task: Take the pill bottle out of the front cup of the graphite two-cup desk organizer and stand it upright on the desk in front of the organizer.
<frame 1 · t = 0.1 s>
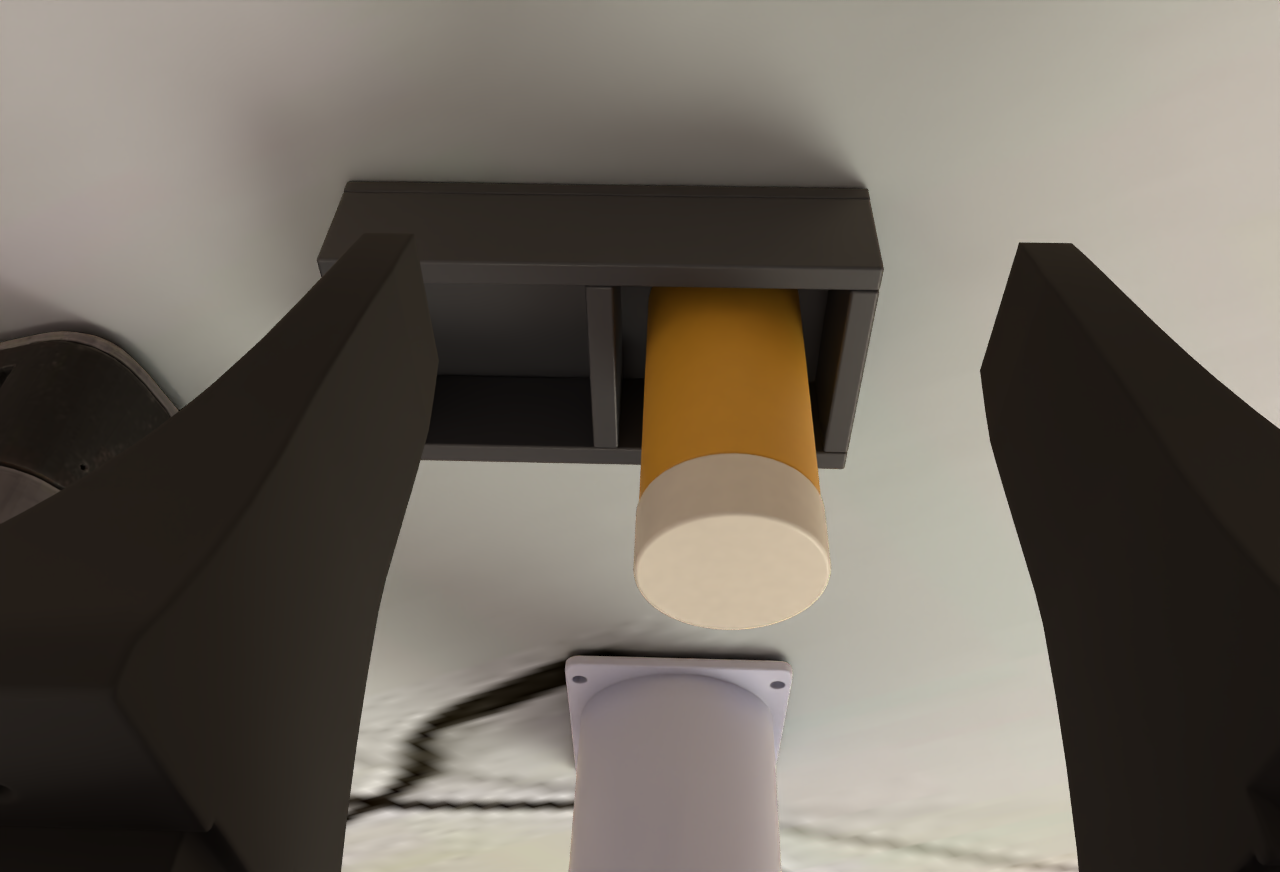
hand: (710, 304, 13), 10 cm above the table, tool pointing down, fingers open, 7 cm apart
electronic device: (122, 446, 31), on the table
pill bottle: (723, 304, 25), resting on organizer
organizer: (609, 292, 26), on the table
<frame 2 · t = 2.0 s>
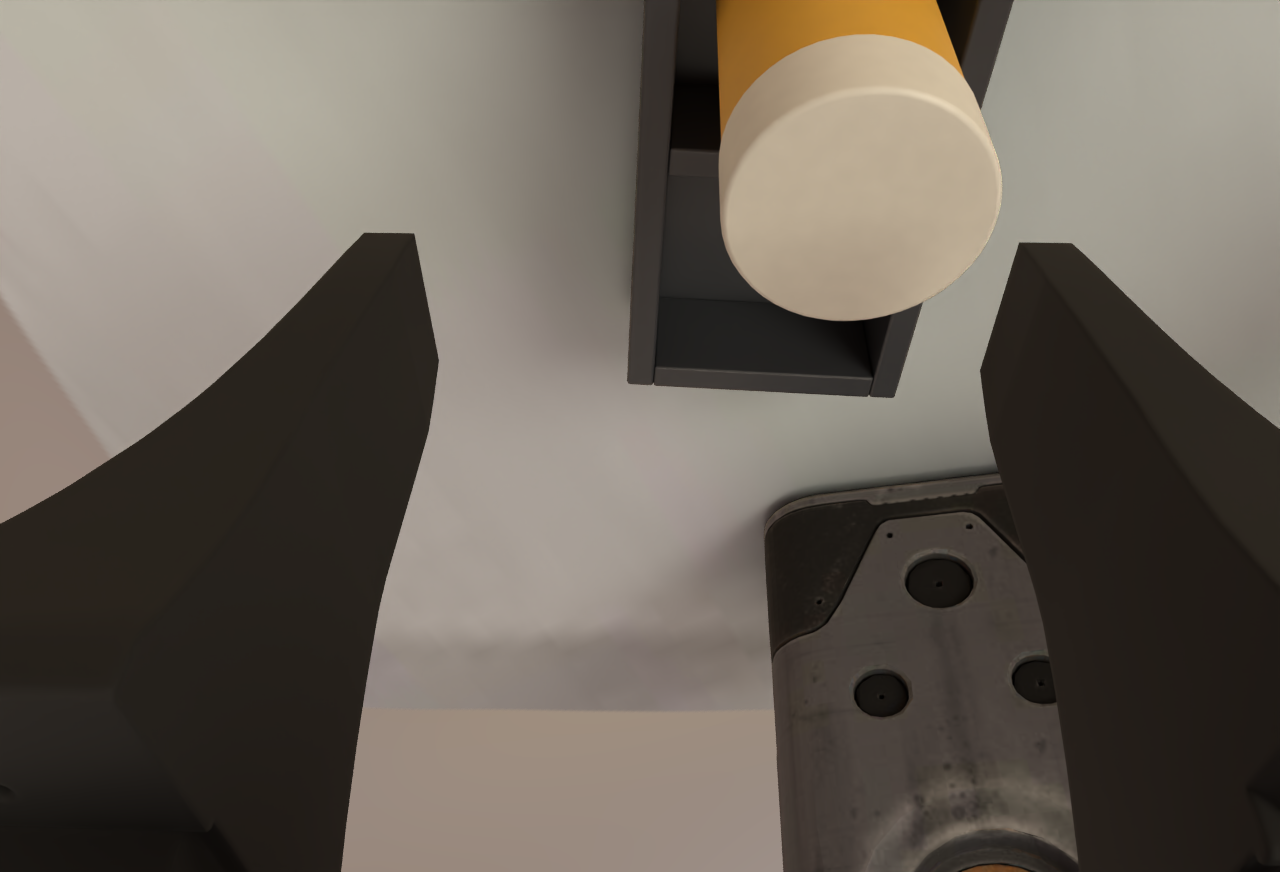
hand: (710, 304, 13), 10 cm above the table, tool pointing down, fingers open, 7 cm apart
electronic device: (920, 532, 32), on the table
organizer: (789, 92, 22), on the table
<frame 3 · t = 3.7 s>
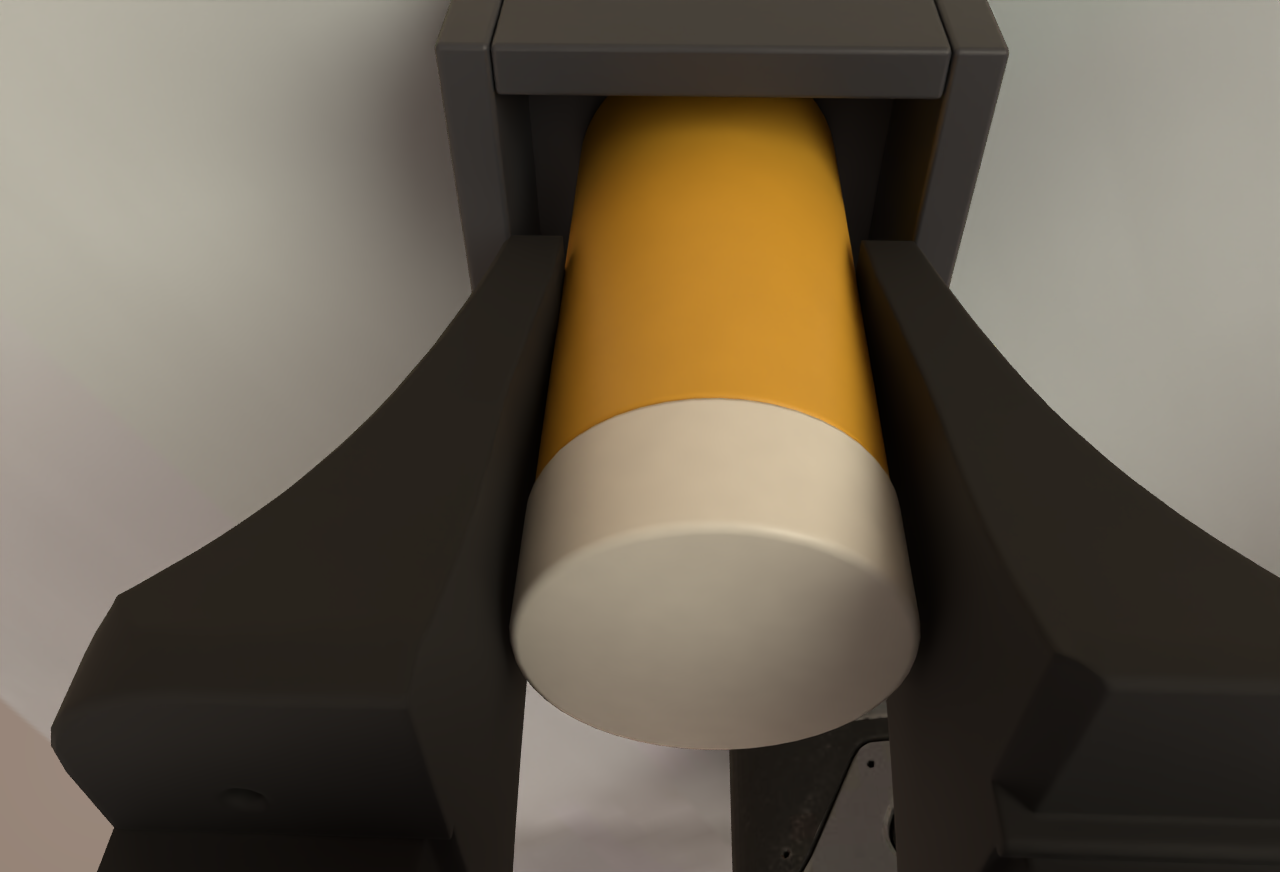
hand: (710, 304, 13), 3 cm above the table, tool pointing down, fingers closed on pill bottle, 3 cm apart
electronic device: (914, 730, 28), on the table
pill bottle: (706, 169, 15), resting on organizer, touching gripper
organizer: (699, 302, 17), on the table
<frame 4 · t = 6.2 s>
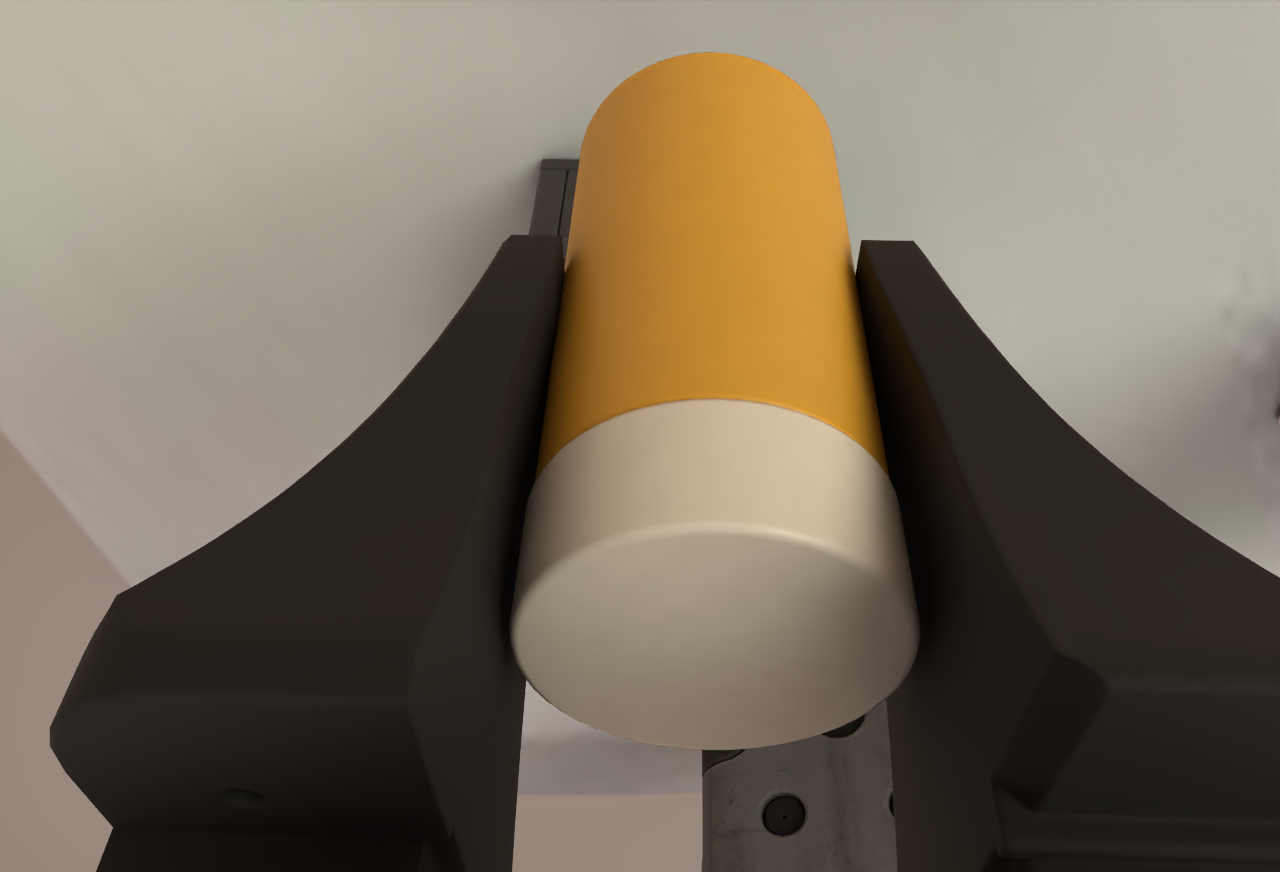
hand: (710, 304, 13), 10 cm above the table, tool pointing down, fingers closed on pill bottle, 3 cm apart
electronic device: (837, 654, 38), on the table
pill bottle: (706, 170, 15), point 7 cm above the table, touching gripper
organizer: (674, 356, 28), on the table
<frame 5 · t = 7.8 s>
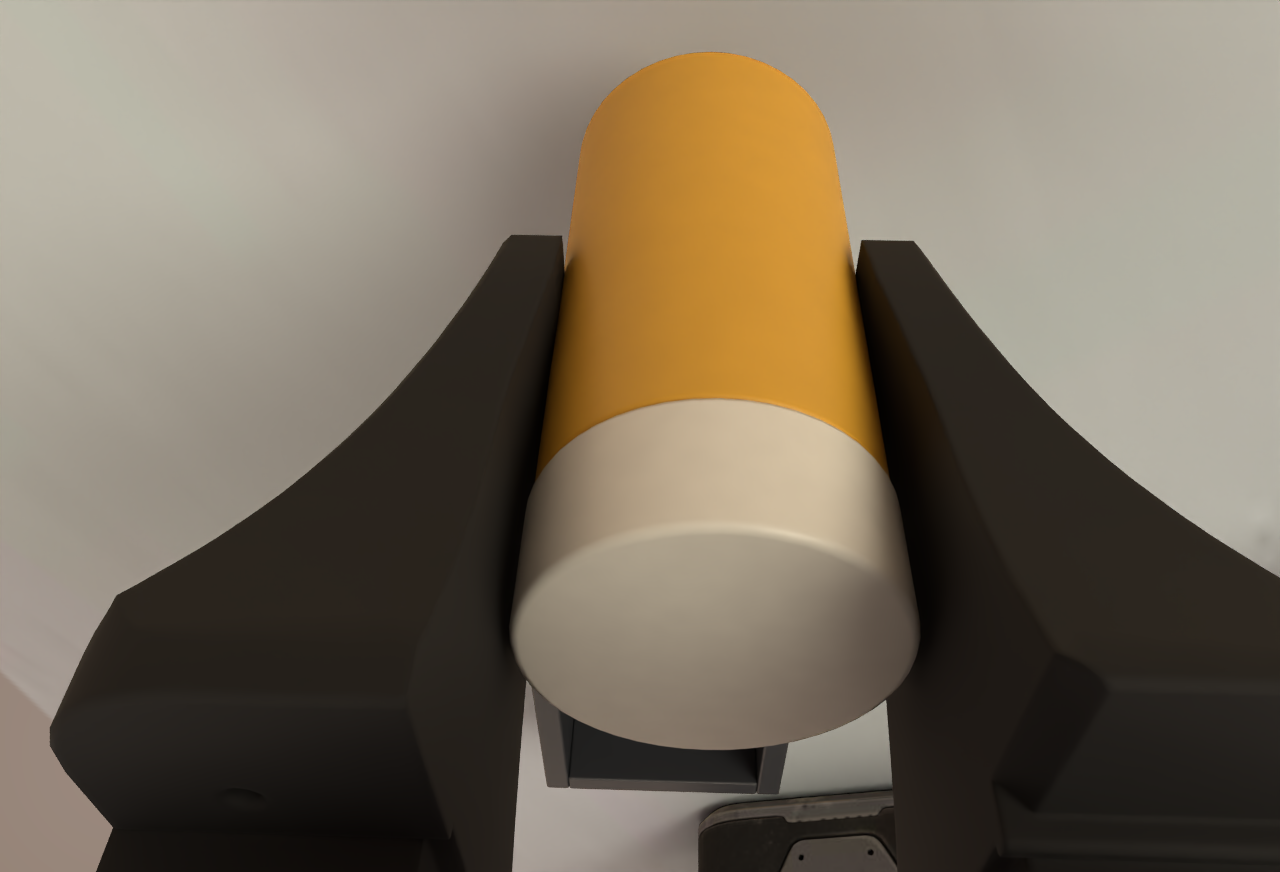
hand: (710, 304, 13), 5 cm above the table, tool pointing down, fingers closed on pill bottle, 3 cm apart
electronic device: (841, 823, 36), on the table
pill bottle: (706, 169, 15), point 2 cm above the table, touching gripper
organizer: (667, 570, 26), on the table
when the fingers open (3 cm above the table, at t = 8.9 s): pill bottle stays where it is, on the table.
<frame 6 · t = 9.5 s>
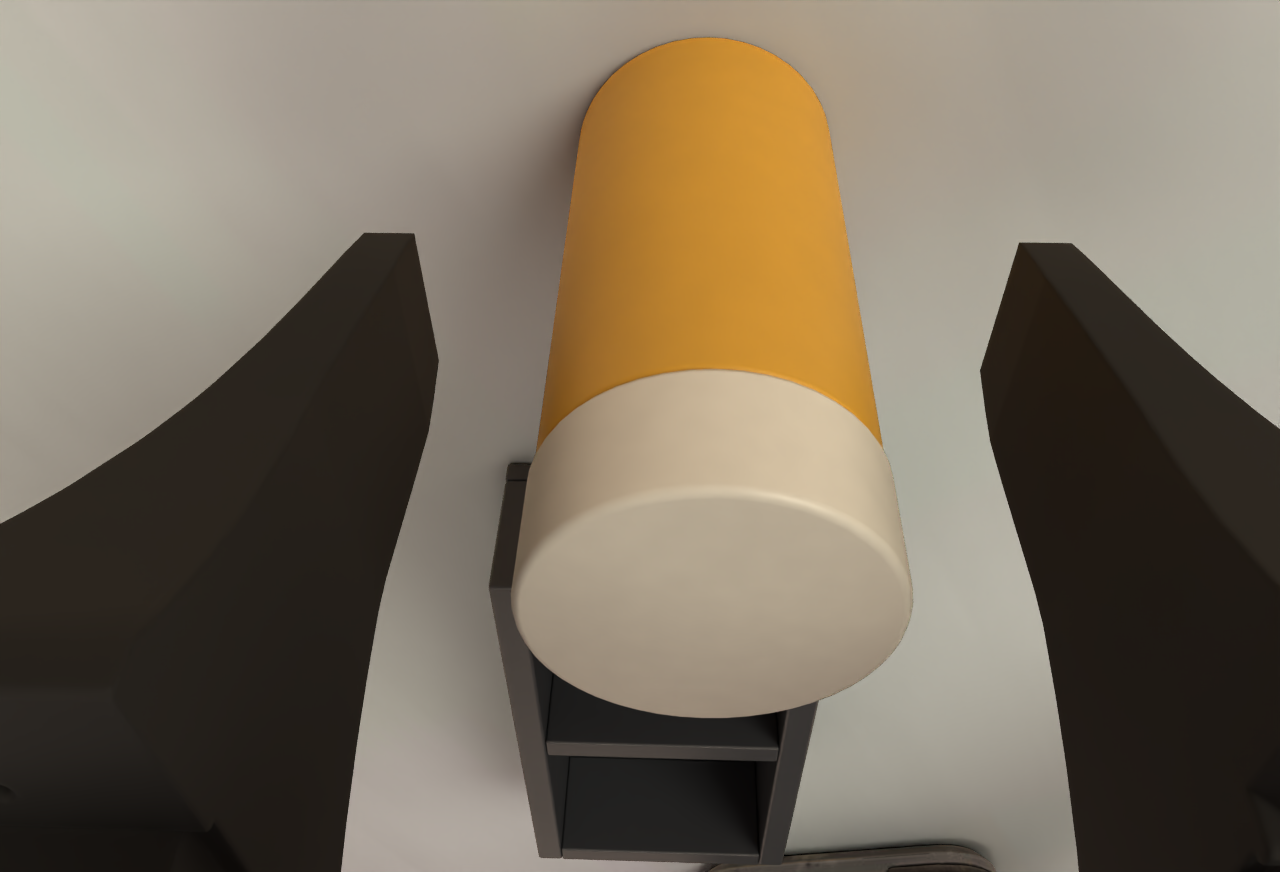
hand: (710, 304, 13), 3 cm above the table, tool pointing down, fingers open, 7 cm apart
pill bottle: (703, 154, 15), on the table
organizer: (664, 635, 24), on the table
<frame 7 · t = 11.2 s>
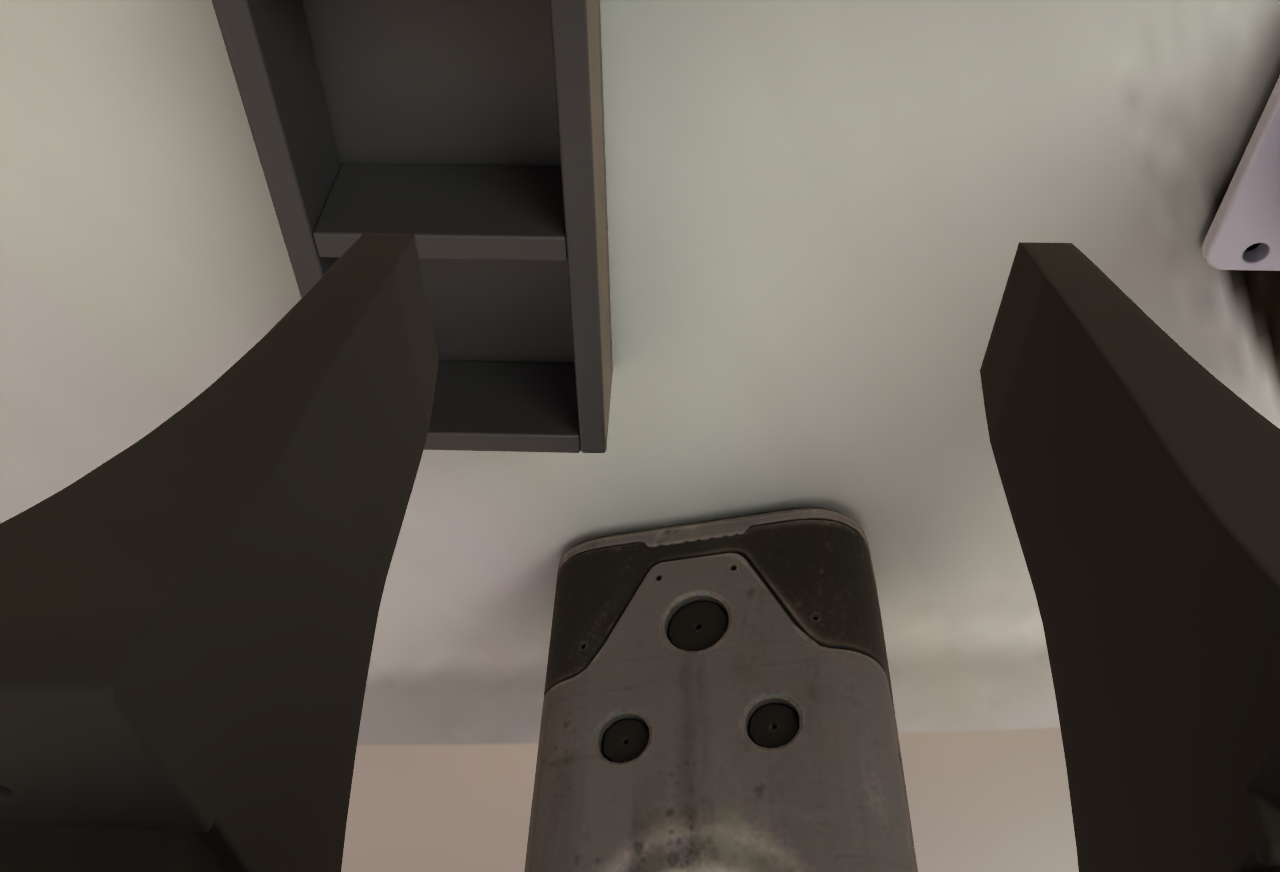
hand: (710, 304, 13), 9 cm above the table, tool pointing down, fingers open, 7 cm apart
electronic device: (717, 569, 33), on the table
organizer: (462, 166, 23), on the table
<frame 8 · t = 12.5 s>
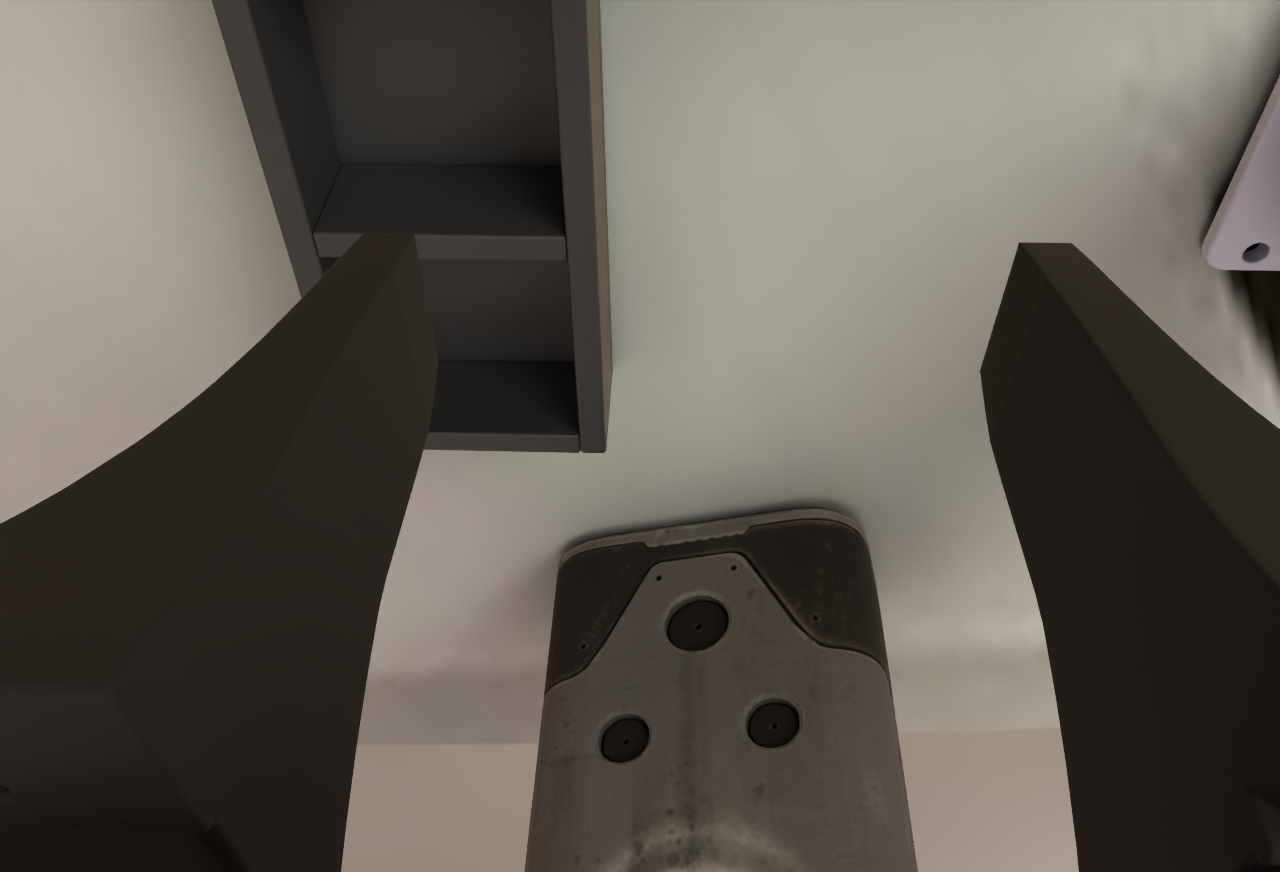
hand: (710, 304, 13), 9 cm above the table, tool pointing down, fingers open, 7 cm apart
electronic device: (717, 569, 33), on the table
organizer: (462, 166, 23), on the table
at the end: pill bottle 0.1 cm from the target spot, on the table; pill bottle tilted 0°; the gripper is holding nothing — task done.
